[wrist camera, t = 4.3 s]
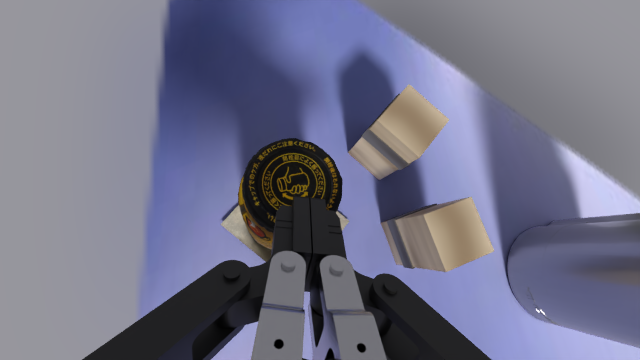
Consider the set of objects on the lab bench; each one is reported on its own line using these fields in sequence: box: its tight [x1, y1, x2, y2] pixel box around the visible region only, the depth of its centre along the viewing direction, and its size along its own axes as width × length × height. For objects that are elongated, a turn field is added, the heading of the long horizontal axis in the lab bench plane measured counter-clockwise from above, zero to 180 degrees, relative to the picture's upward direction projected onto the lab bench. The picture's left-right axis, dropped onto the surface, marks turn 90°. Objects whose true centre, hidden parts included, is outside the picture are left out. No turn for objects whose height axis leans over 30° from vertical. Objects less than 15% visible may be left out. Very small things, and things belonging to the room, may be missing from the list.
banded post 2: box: [381, 197, 494, 272], centre depth 25 cm, size 4×4×8 cm
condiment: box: [221, 138, 349, 262], centre depth 21 cm, size 7×8×12 cm
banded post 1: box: [348, 85, 449, 180], centre depth 26 cm, size 4×4×8 cm
